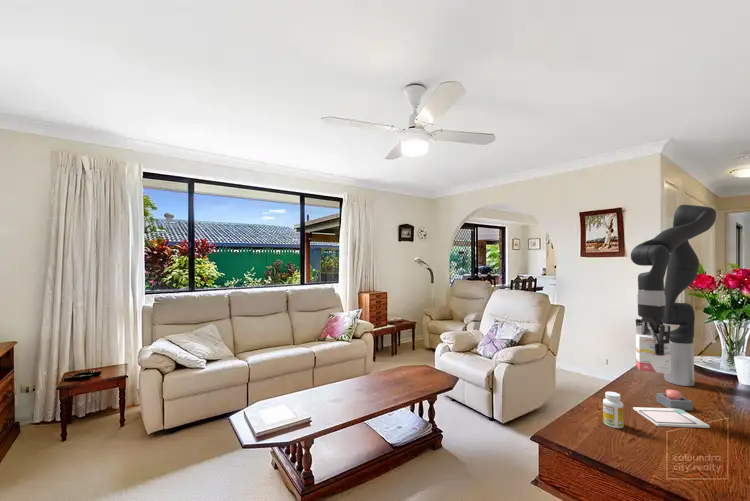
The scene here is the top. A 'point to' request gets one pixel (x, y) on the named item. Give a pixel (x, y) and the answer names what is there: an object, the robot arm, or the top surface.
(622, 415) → the supplement bottle
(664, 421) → the sheet
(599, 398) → the top surface
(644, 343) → the ink cartridge box
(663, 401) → the button housing
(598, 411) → the top surface
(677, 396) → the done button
